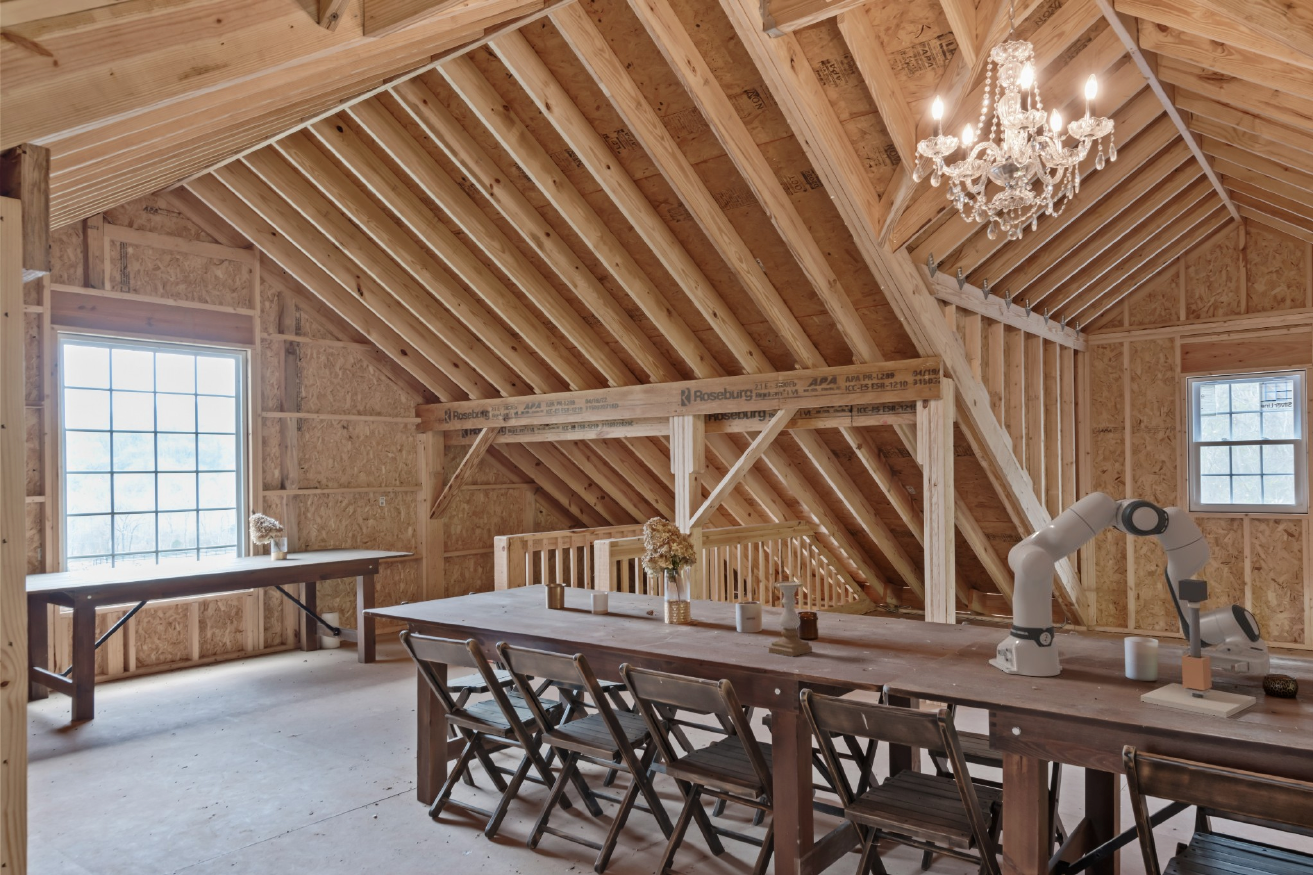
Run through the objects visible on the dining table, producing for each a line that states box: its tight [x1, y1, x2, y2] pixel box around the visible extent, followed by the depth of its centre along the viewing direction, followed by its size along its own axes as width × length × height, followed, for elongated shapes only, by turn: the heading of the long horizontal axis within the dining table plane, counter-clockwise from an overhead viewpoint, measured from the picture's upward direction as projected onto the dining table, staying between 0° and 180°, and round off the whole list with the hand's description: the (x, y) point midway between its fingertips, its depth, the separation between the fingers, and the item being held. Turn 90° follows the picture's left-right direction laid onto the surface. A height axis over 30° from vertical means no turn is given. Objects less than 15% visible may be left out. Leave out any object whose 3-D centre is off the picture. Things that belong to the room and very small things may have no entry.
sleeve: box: [1181, 654, 1213, 690], centre depth 224 cm, size 5×5×8 cm
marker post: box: [1140, 578, 1257, 719], centre depth 224 cm, size 20×20×32 cm
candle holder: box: [768, 580, 813, 657], centre depth 294 cm, size 11×11×24 cm
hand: (1214, 664), depth 231 cm, fingers open, 8 cm apart
